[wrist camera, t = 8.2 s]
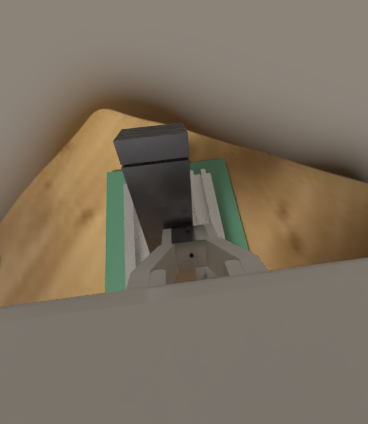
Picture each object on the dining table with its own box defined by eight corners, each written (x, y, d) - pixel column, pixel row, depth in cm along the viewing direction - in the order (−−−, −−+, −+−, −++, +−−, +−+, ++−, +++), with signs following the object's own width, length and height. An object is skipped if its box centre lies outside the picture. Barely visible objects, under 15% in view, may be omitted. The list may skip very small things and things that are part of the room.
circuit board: (267, 333, 21) (271, 336, 20) (107, 360, 20) (103, 365, 19) (222, 161, 29) (224, 158, 28) (109, 175, 29) (107, 172, 28)
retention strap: (194, 285, 19) (197, 305, 17) (168, 289, 19) (168, 309, 17) (182, 122, 8) (187, 133, 7) (121, 129, 8) (112, 141, 6)
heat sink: (229, 295, 21) (249, 306, 15) (136, 310, 21) (114, 329, 14) (202, 168, 28) (208, 136, 21) (131, 177, 27) (114, 147, 21)
